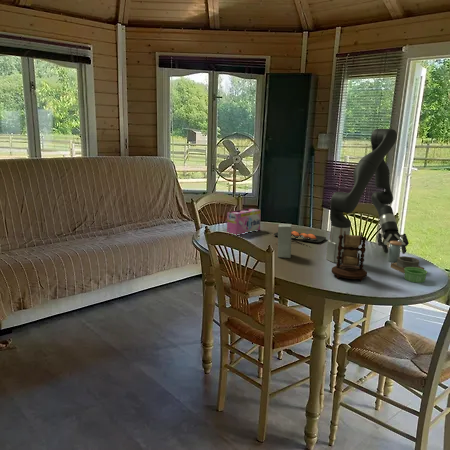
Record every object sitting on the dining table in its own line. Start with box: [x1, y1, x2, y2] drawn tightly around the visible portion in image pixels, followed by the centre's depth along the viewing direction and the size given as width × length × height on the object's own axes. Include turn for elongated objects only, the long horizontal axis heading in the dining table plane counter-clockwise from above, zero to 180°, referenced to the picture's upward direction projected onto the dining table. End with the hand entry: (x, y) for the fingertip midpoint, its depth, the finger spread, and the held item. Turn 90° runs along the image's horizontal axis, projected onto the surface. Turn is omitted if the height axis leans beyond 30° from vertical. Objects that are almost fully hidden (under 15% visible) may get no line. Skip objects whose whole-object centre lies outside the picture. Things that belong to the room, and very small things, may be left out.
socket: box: [390, 255, 425, 274], centre depth 187 cm, size 10×10×5 cm
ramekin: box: [403, 267, 428, 284], centre depth 174 cm, size 9×9×4 cm
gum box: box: [226, 207, 262, 235], centre depth 250 cm, size 24×8×14 cm, turn 136°
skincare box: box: [277, 223, 293, 259], centre depth 203 cm, size 8×7×16 cm
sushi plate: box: [273, 230, 327, 248], centre depth 234 cm, size 29×30×4 cm
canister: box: [387, 240, 402, 264], centre depth 198 cm, size 5×5×10 cm
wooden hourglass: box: [331, 231, 368, 282], centre depth 175 cm, size 15×15×20 cm
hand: (395, 252), depth 197 cm, fingers open, 8 cm apart
